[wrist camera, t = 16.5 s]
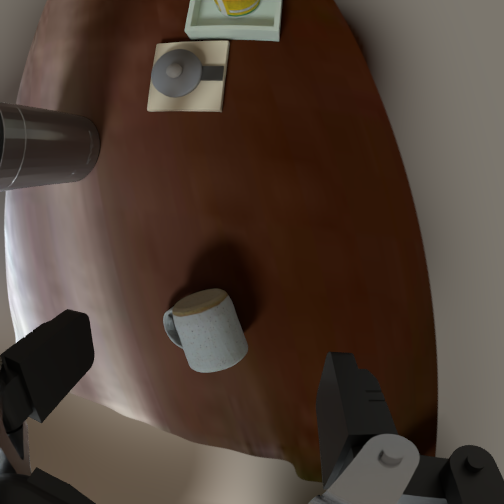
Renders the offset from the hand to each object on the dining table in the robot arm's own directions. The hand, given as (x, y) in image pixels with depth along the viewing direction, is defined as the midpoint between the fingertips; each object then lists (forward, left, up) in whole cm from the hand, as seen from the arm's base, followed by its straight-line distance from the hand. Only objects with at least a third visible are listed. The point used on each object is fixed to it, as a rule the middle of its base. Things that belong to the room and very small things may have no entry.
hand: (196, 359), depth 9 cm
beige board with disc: (-10, +17, -28) cm, 34 cm away
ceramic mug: (-6, -13, -28) cm, 32 cm away
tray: (-5, +27, -28) cm, 40 cm away
